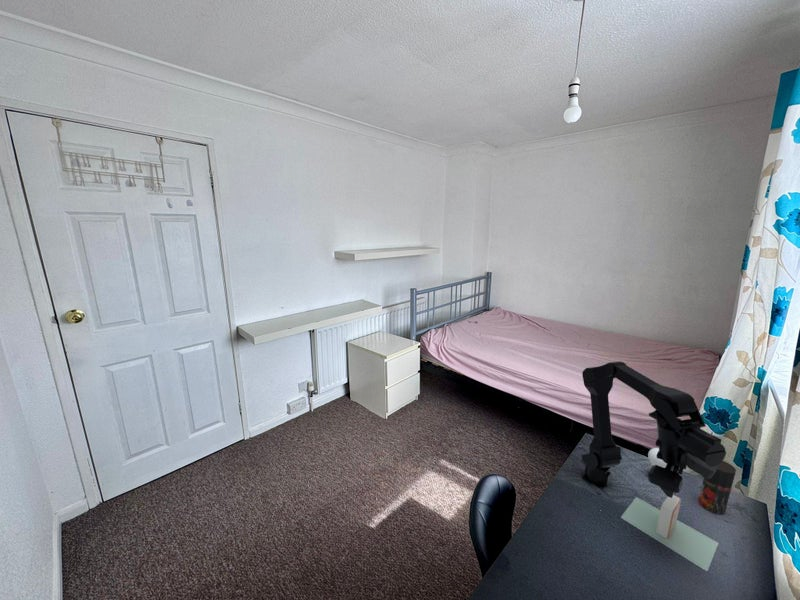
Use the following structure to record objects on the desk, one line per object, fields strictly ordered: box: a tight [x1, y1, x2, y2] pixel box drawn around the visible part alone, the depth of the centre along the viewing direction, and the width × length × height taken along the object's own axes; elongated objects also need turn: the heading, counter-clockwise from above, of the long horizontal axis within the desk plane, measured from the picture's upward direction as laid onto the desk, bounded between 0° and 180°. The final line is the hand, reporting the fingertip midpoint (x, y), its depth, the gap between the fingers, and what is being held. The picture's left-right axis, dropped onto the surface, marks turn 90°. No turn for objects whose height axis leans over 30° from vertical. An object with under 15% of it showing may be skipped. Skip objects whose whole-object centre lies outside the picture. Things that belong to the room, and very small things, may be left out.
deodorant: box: [697, 460, 737, 516], centre depth 96 cm, size 6×6×15 cm
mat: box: [620, 496, 719, 572], centre depth 91 cm, size 19×12×1 cm, turn 37°
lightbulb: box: [647, 447, 667, 468], centre depth 109 cm, size 6×6×11 cm
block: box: [656, 494, 682, 539], centre depth 90 cm, size 3×7×9 cm, turn 127°
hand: (674, 484), depth 88 cm, fingers open, 9 cm apart
